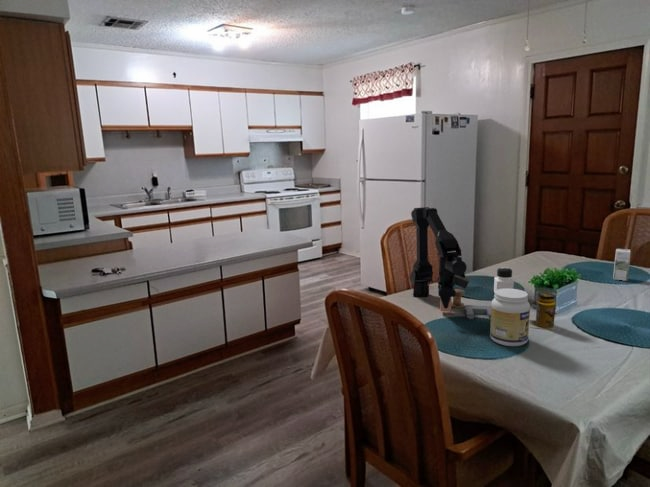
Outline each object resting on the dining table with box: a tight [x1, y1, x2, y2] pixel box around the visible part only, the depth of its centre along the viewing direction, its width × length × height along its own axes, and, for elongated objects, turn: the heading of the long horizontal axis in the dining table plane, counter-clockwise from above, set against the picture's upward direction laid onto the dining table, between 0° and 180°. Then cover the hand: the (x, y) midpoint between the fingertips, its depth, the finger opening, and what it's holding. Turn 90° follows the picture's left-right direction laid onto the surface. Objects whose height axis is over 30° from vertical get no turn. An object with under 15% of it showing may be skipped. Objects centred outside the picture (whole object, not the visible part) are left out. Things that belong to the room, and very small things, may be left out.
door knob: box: [451, 288, 466, 309], centre depth 187 cm, size 6×6×6 cm
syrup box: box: [612, 248, 631, 282], centre depth 213 cm, size 6×6×14 cm
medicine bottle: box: [493, 267, 515, 294], centre depth 198 cm, size 7×7×12 cm
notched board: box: [464, 304, 491, 321], centre depth 177 cm, size 10×10×2 cm
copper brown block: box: [439, 297, 452, 313], centre depth 179 cm, size 4×4×6 cm
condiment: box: [529, 292, 557, 331], centre depth 164 cm, size 7×8×12 cm
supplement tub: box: [489, 288, 531, 347], centre depth 152 cm, size 12×12×17 cm
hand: (445, 306), depth 180 cm, fingers closed on copper brown block, 4 cm apart
